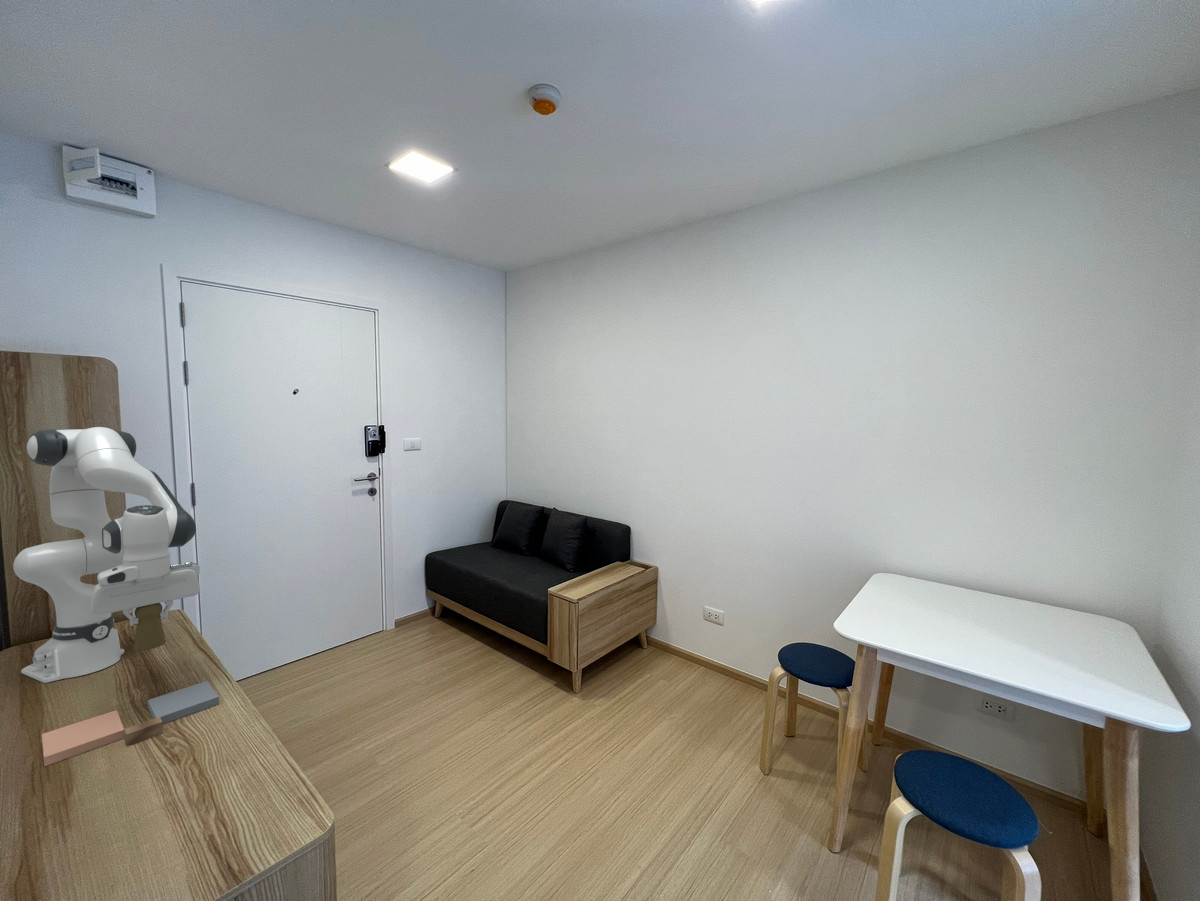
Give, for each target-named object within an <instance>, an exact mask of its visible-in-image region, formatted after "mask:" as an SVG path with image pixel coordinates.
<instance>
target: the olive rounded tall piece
mask: <svg viewBox="0 0 1200 901" xmlns="http://www.w3.org/2000/svg"><path fill="white" fill-rule="evenodd" d="M134 609H135V610H134V617H137V618H138V622H139V624H137V625H136V628H135V629H136V631H135V637H134V642H133V651H136V652H138V651H139V652H142V651H148V650H152V649H156V648H159V647H161V646H164V644H165V645H166V637H165V632H164V629H163V624H162V619H160V613H161V612H162V611H163V605H162V604H161V603H156V604H151V605H146V606H142V607H137V608H134Z"/></svg>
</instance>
